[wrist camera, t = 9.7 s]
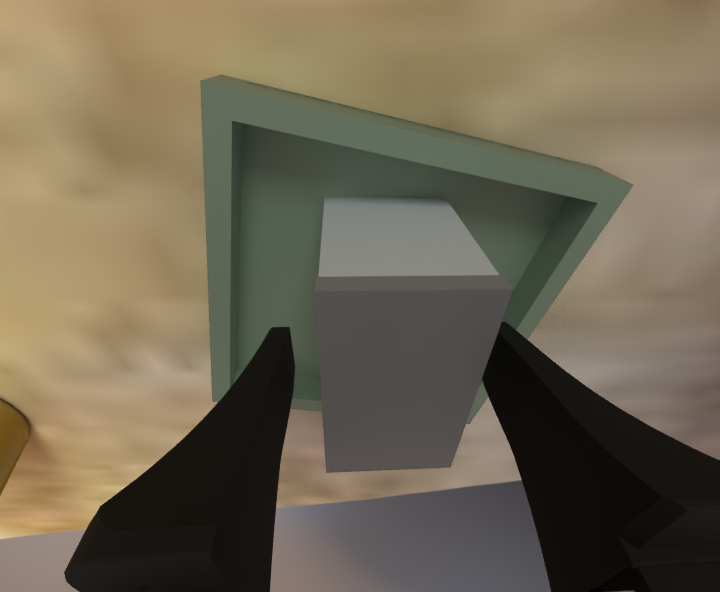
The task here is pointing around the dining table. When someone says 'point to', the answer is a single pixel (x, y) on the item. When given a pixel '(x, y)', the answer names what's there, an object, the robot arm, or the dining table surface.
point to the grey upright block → (401, 331)
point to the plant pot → (11, 440)
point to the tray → (378, 180)
